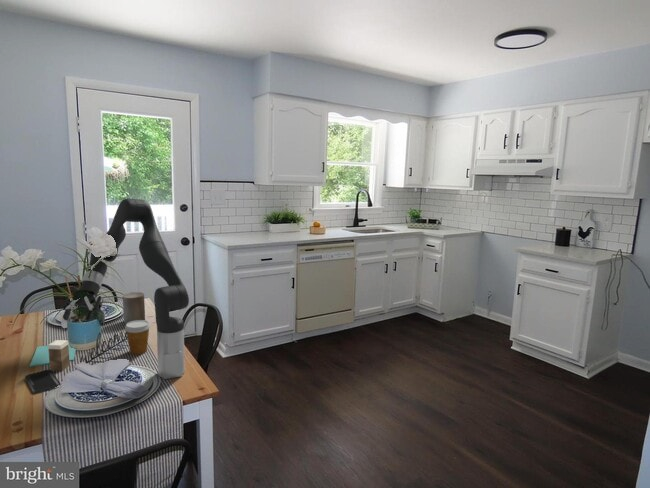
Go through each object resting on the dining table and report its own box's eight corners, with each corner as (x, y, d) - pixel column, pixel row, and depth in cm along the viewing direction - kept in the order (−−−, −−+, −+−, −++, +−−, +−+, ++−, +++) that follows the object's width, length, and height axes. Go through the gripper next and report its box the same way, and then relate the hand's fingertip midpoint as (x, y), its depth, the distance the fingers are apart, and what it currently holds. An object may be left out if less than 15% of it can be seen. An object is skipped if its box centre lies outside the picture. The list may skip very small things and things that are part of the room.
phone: (50, 368, 151) (61, 384, 141) (50, 371, 151) (61, 387, 141) (24, 375, 146) (33, 392, 135) (24, 378, 146) (33, 395, 136)
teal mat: (73, 360, 160) (73, 359, 160) (29, 366, 154) (29, 365, 154) (77, 342, 176) (77, 341, 176) (37, 347, 169) (37, 346, 169)
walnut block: (69, 365, 156) (68, 340, 154) (62, 371, 152) (60, 345, 150) (57, 365, 156) (56, 340, 154) (50, 370, 152) (48, 344, 150)
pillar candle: (149, 319, 206) (148, 290, 204) (136, 326, 197) (135, 295, 195) (132, 317, 208) (131, 288, 206) (119, 323, 199) (117, 293, 197)
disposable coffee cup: (142, 344, 177) (141, 318, 175) (155, 350, 172) (155, 323, 170) (121, 351, 169) (119, 324, 167) (134, 358, 164) (132, 329, 162)
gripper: (69, 278, 169) (53, 315, 160) (104, 280, 169) (90, 316, 160) (78, 287, 175) (62, 323, 166) (111, 289, 175) (98, 324, 166)
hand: (76, 320), depth 163 cm, fingers open, 8 cm apart
